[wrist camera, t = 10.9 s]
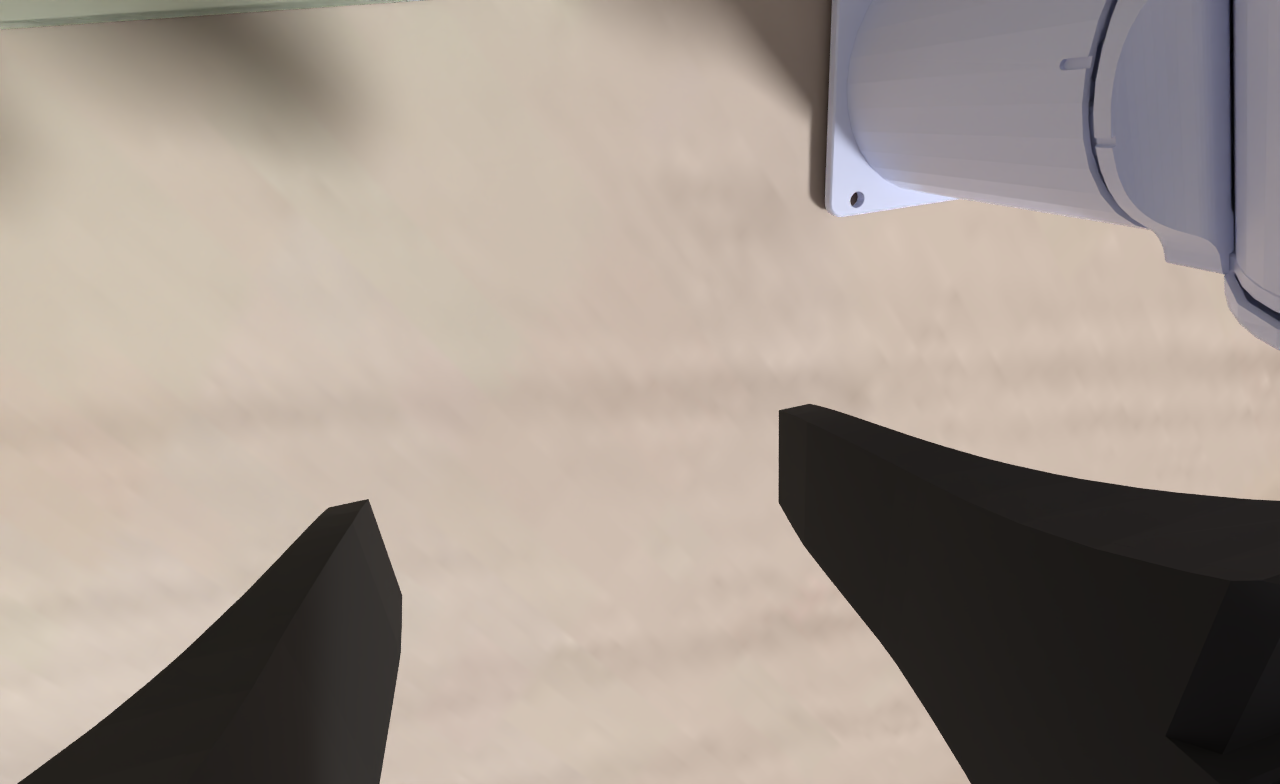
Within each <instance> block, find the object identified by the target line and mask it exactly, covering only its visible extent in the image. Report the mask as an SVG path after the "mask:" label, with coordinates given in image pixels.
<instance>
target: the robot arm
mask: <svg viewBox="0 0 1280 784" xmlns="http://www.w3.org/2000/svg"><path fill="white" fill-rule="evenodd" d="M855 192H856V193H857V195H858V199H857V202H856V203H855V204H854V205H853V206H852V205H851V203H850V200H851V196H852V195H853V194H854V193H855ZM957 199H964V200H971V201H977V202H983V203H989V204H995V205H1001V206H1007V207H1013V208H1019V209H1026V210H1032V211H1038V212H1044V213H1050V214H1056V215H1062V216H1068V217H1074V218H1081V219H1087V220H1093V221H1099V222H1105V223H1111V224H1117V225H1123V226H1129V227H1136V228H1142V229H1148V230H1151V231H1153V232H1154V233H1155V234H1156V235H1157V237H1158V238H1159V239H1160V241H1161V243H1162V246H1163V249H1164V255H1165V260H1166V262H1167V263H1172V264H1177V265H1182V266H1186V267H1191V268H1196V269H1201V270H1206V271H1211V272H1216V273H1220V274H1225V276H1224V286H1225V296H1226V300H1227V304H1228V307H1229V309H1230V311H1231V312H1232V314H1233V315H1234V316H1235V318H1236V319H1237V321H1238V322H1239V324H1241V325H1242V326H1243V327H1244V328H1245V329H1246V330H1248V331H1249V332H1250V333H1251V334H1252V335H1254V336H1255V337H1256V338H1258V339H1260V340H1261V341H1263V342H1265V343H1267V344H1269V345H1270V346H1272V347H1274V348H1276V349H1277V350H1280V0H832V15H831V43H830V71H829V99H828V127H827V155H826V183H825V207H826V210H827V211H828V213H830V214H831V215H833V216H837V217H845V216H851V215H858V214H865V213H871V212H878V211H884V210H891V209H897V208H904V207H911V206H917V205H924V204H930V203H937V202H944V201H950V200H957ZM779 504H780V506H781V507H782V509H783V511H784V513H785V514H786V516H787V518H788V520H789V522H790V523H791V525H792V527H793V528H794V530H795V532H796V533H797V535H798V537H799V538H800V540H801V542H802V543H803V545H804V546H805V548H806V549H807V550H808V552H809V553H810V554H811V555H812V557H813V558H814V559H815V561H816V562H817V563H818V564H819V566H820V567H821V568H822V570H823V571H824V572H825V573H826V575H827V576H828V577H829V578H830V580H831V581H832V582H833V583H834V585H835V586H836V587H837V588H838V590H839V591H840V592H841V593H842V595H843V596H844V597H845V598H846V600H847V601H848V602H849V603H850V605H851V606H852V607H853V608H854V610H855V611H856V612H857V613H858V615H859V616H860V617H861V618H862V620H863V621H864V622H865V623H866V625H867V626H868V627H869V628H870V630H871V631H872V632H873V633H874V635H875V636H876V637H877V638H878V640H879V641H880V642H881V644H882V645H883V646H884V648H885V649H886V650H887V652H888V653H889V654H890V656H891V657H892V659H893V660H894V661H895V663H896V664H897V666H898V667H899V669H900V670H901V672H902V673H903V675H904V676H905V678H906V679H907V681H908V683H909V684H910V686H911V687H912V689H913V690H914V692H915V693H916V695H917V696H918V698H919V700H920V701H921V703H922V704H923V706H924V707H925V709H926V710H927V712H928V713H929V715H930V717H931V718H932V720H933V722H934V723H935V725H936V726H937V728H938V730H939V731H940V733H941V735H942V736H943V738H944V740H945V741H946V743H947V744H948V746H949V748H950V749H951V751H952V753H953V754H954V756H955V758H956V759H957V761H958V762H959V764H960V766H961V767H962V769H963V771H964V772H965V774H966V776H967V777H968V779H969V781H970V783H971V784H1280V501H1271V500H1252V499H1238V498H1228V497H1217V496H1206V495H1196V494H1185V493H1176V492H1167V491H1159V490H1151V489H1143V488H1135V487H1129V486H1122V485H1116V484H1110V483H1103V482H1097V481H1090V480H1084V479H1078V478H1073V477H1067V476H1062V475H1057V474H1052V473H1047V472H1043V471H1038V470H1034V469H1029V468H1024V467H1020V466H1015V465H1011V464H1006V463H1002V462H998V461H994V460H990V459H987V458H983V457H979V456H976V455H972V454H969V453H965V452H962V451H958V450H955V449H951V448H948V447H944V446H941V445H938V444H935V443H931V442H928V441H925V440H922V439H919V438H916V437H913V436H910V435H907V434H904V433H901V432H898V431H895V430H892V429H889V428H886V427H883V426H880V425H877V424H874V423H871V422H868V421H865V420H862V419H859V418H856V417H853V416H850V415H847V414H844V413H841V412H838V411H835V410H832V409H828V408H825V407H821V406H817V405H812V404H807V405H802V406H797V407H793V408H788V409H783V410H779ZM401 630H402V594H401V591H400V588H399V585H398V582H397V579H396V577H395V574H394V571H393V568H392V565H391V562H390V559H389V557H388V554H387V551H386V548H385V545H384V542H383V539H382V537H381V534H380V531H379V528H378V525H377V522H376V519H375V517H374V514H373V511H372V508H371V505H370V502H369V499H367V500H362V501H357V502H353V503H348V504H343V505H339V506H334V507H330V508H328V509H327V510H325V511H324V512H323V513H322V514H321V515H320V516H319V517H318V518H317V519H316V520H315V521H314V522H313V523H312V524H311V525H310V526H309V527H308V528H307V529H306V530H305V531H304V532H303V533H302V534H301V535H300V536H299V538H298V539H297V540H296V541H295V542H294V543H293V544H292V545H291V546H290V547H289V548H288V549H287V550H286V551H285V552H284V553H283V554H282V556H281V557H280V558H279V559H278V560H277V561H276V562H275V563H274V564H273V565H272V566H271V567H270V568H269V569H268V570H267V571H266V572H265V573H264V574H263V575H262V576H261V577H260V578H259V579H258V580H257V581H256V582H255V583H254V584H253V586H252V587H251V588H250V589H249V590H248V591H247V592H246V593H245V594H244V595H243V596H242V597H241V598H240V599H239V600H238V601H236V602H235V603H234V604H233V605H232V606H231V607H230V608H229V609H228V610H227V611H226V612H225V613H224V614H223V615H222V616H221V617H220V618H219V619H218V620H217V621H216V622H214V623H213V624H212V625H211V626H210V627H209V628H208V629H207V630H206V631H205V632H204V633H203V634H202V635H201V636H200V637H199V638H198V639H197V640H196V641H195V642H194V643H193V644H191V645H190V646H189V647H188V648H187V649H186V650H185V651H184V652H183V653H182V654H181V655H179V656H178V657H177V658H176V659H175V660H174V661H173V662H172V663H171V664H169V665H168V666H167V667H166V668H165V669H164V670H162V671H161V672H160V673H159V674H158V675H157V676H155V677H154V678H153V679H152V680H151V681H150V682H148V683H147V684H146V685H145V686H144V687H142V688H141V689H140V690H139V691H138V692H136V693H135V694H134V695H133V696H131V697H130V698H129V699H128V700H127V701H125V702H124V703H123V704H122V705H121V706H119V707H118V708H117V709H116V710H114V711H113V712H112V713H111V714H110V715H108V716H107V717H106V718H105V719H103V720H102V721H101V722H99V723H98V724H97V725H96V726H94V727H93V728H92V729H91V730H89V731H88V732H87V733H85V734H84V735H83V736H81V737H80V738H78V739H77V740H76V741H74V742H73V743H72V744H70V745H69V746H68V747H66V748H65V749H64V750H62V751H61V752H60V753H58V754H57V755H56V756H54V757H53V758H51V759H50V760H49V761H47V762H46V763H45V764H43V765H42V766H41V767H39V768H38V769H37V770H35V771H34V772H33V773H31V774H30V775H29V776H27V777H26V778H25V779H23V780H22V781H20V782H19V783H18V784H379V783H380V777H381V771H382V765H383V759H384V753H385V746H386V740H387V734H388V728H389V722H390V716H391V710H392V704H393V698H394V692H395V686H396V679H397V673H398V667H399V660H400V653H401Z"/></svg>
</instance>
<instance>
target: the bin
mask: <svg viewBox="0 0 1280 784" xmlns="http://www.w3.org/2000/svg"><path fill="white" fill-rule="evenodd" d="M408 1H422V0H0V30H2V29H16V28H31V27H45V26H60V25H74V24H89V23H103V22H118V21H132V20H147V19H161V18H176V17H190V16H205V15H219V14H234V13H248V12H263V11H277V10H292V9H306V8H321V7H335V6H350V5H364V4H379V3H393V2H408Z"/></svg>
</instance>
